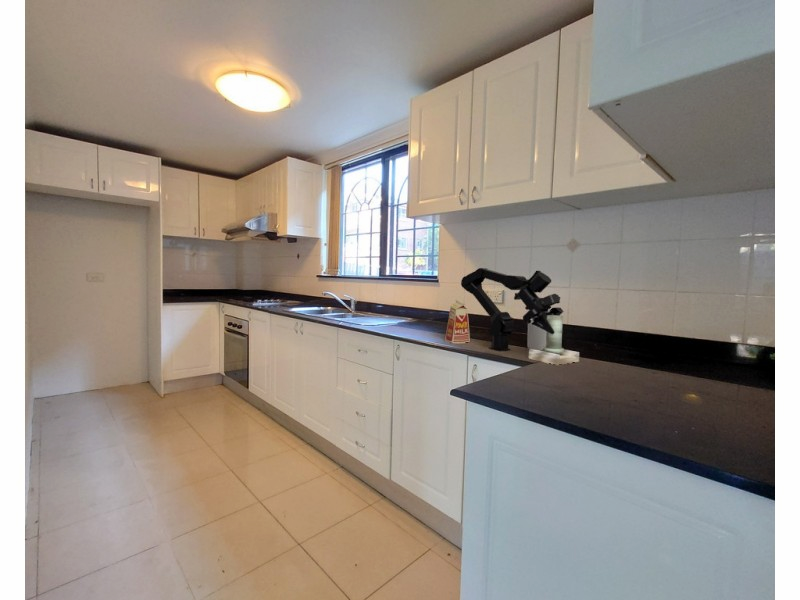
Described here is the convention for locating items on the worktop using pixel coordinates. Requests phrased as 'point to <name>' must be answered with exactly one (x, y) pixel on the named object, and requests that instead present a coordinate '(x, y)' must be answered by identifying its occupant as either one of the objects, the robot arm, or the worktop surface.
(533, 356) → the mottled cream slab
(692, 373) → the worktop surface
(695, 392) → the worktop surface
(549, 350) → the pale green cylinder
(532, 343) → the pill bottle
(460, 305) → the milk carton
